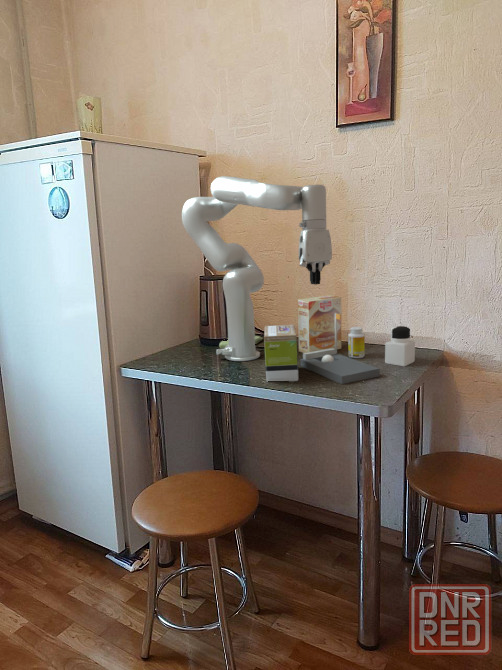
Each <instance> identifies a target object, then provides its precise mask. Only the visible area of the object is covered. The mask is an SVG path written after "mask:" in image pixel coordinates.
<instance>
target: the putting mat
mask: <svg viewBox="0 0 502 670" xmlns="http://www.w3.org/2000/svg"><path fill="white" fill-rule="evenodd" d="M337 319H338V320H341V321H342V313H341V314H337V313H335V349H334V348H331V349H325V350H320V351H314V352H308V353H303V352H302V358H300V367H302V368H304V369H306V370H309V371H311V372H313V373H316V374H318V375H320V376H322V377H325V378H327V379H329V380H331V381H334V382H336V383H338V384H340V385H344V384H349V383H353V382H359V381H363V380H367V379H372V378H377V377H380V375H381V374H380V373H381V372H380V369H381V368H379V367H376V366H374V365H370V364H368V363H365V362H362V361H360V360H357V359H355V358H351V357H349V356H346V355H343V354H340V353H338V349H337ZM325 355H331V356H332V357H333V358H334V361H330V362H325V363H324V362H322V358H323V356H325Z"/></svg>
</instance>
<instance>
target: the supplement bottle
mask: <svg viewBox="0 0 502 670" xmlns="http://www.w3.org/2000/svg"><path fill="white" fill-rule="evenodd" d="M347 335H348V336H347V340H348V341H347V344H348V345H347V348H348V350H347V351H348V352H347V353H348V357H349V358H351V359H361V358H364V357H365V356H366V352H365V349H366V348H365V347H366V346H365V342H366V341H365V337H366V336H365V333H363V327H361V326H352V327H350V333H348V334H347Z"/></svg>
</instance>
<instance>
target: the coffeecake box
mask: <svg viewBox="0 0 502 670" xmlns="http://www.w3.org/2000/svg"><path fill="white" fill-rule="evenodd" d="M297 311H298V313H297V316H298V317H297V318H298V324H297V325H298V329H297V330H298V352H300V353H302V354H303V353H308V352H314V351H320V350H325V349H331V348H334V349H335V313H337V314H341V315H342V296H338V295H332V294H328V295H321V296H315V297H305V298H300V299H297ZM341 349H342V319H341V320H338V319H337V350H341Z"/></svg>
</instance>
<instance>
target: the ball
mask: <svg viewBox="0 0 502 670" xmlns="http://www.w3.org/2000/svg"><path fill="white" fill-rule="evenodd" d="M330 361H334V358H333V357H332V356H331V355H325V356H323V358H322V362H324V363H325V362H330Z"/></svg>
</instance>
